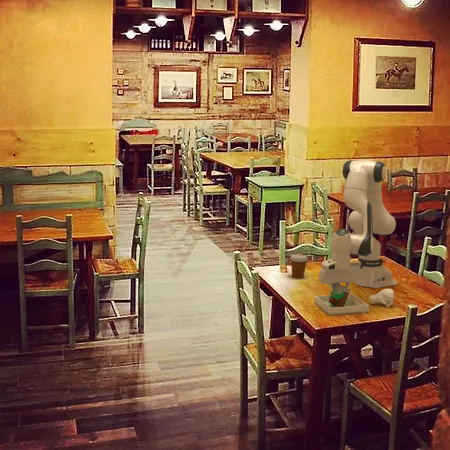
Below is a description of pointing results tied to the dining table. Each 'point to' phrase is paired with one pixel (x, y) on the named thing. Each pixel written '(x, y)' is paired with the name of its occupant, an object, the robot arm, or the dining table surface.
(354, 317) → the dining table surface
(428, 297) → the dining table surface
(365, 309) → the walled box
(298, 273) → the disposable coffee cup
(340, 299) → the food container
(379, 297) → the white animal figurine
